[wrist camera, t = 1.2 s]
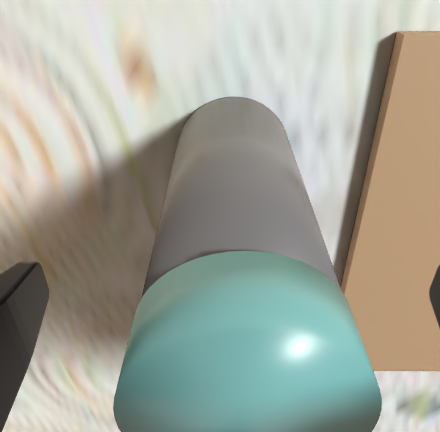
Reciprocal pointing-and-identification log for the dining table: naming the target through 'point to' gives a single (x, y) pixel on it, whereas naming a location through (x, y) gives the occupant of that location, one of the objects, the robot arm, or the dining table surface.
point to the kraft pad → (400, 216)
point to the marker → (242, 296)
